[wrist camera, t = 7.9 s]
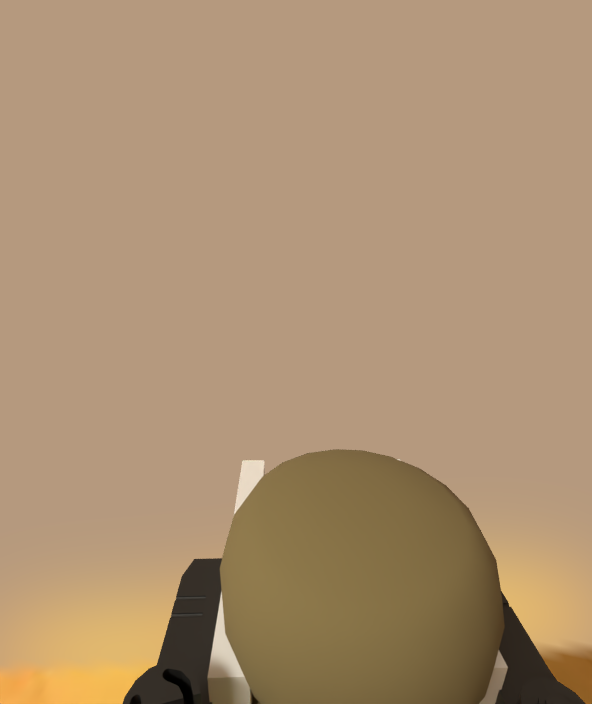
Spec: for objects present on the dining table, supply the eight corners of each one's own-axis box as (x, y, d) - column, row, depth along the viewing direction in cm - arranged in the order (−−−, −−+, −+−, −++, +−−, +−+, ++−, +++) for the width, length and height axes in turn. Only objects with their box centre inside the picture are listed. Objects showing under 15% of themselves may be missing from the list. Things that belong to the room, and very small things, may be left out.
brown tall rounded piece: (259, 672, 14) (253, 404, 10) (430, 716, 12) (491, 431, 9) (176, 982, 8) (99, 621, 5) (474, 1115, 7) (679, 766, 3)
